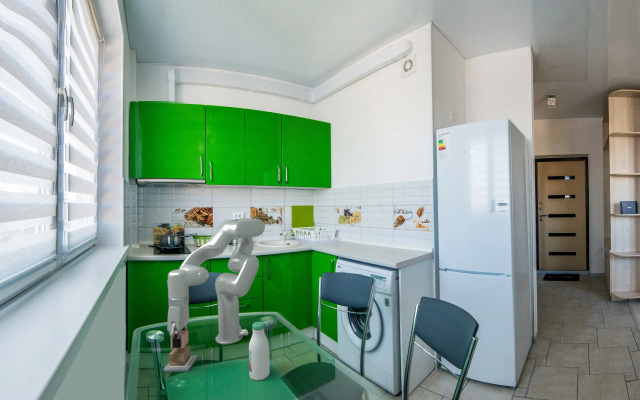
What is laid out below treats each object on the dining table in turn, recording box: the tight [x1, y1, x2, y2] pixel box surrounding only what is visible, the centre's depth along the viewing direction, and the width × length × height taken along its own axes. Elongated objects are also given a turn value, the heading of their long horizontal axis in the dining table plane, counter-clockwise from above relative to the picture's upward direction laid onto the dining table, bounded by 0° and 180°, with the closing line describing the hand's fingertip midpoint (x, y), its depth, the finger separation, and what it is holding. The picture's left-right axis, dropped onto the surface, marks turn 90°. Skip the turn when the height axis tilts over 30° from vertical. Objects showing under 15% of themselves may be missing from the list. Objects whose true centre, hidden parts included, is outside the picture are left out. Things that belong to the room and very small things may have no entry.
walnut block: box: [168, 345, 192, 366], centre depth 126 cm, size 6×6×5 cm
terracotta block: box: [170, 329, 189, 349], centre depth 125 cm, size 5×5×5 cm
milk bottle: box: [248, 321, 271, 381], centre depth 117 cm, size 8×8×20 cm
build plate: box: [162, 354, 199, 372], centre depth 126 cm, size 10×10×1 cm
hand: (179, 343), depth 125 cm, fingers closed on terracotta block, 5 cm apart
